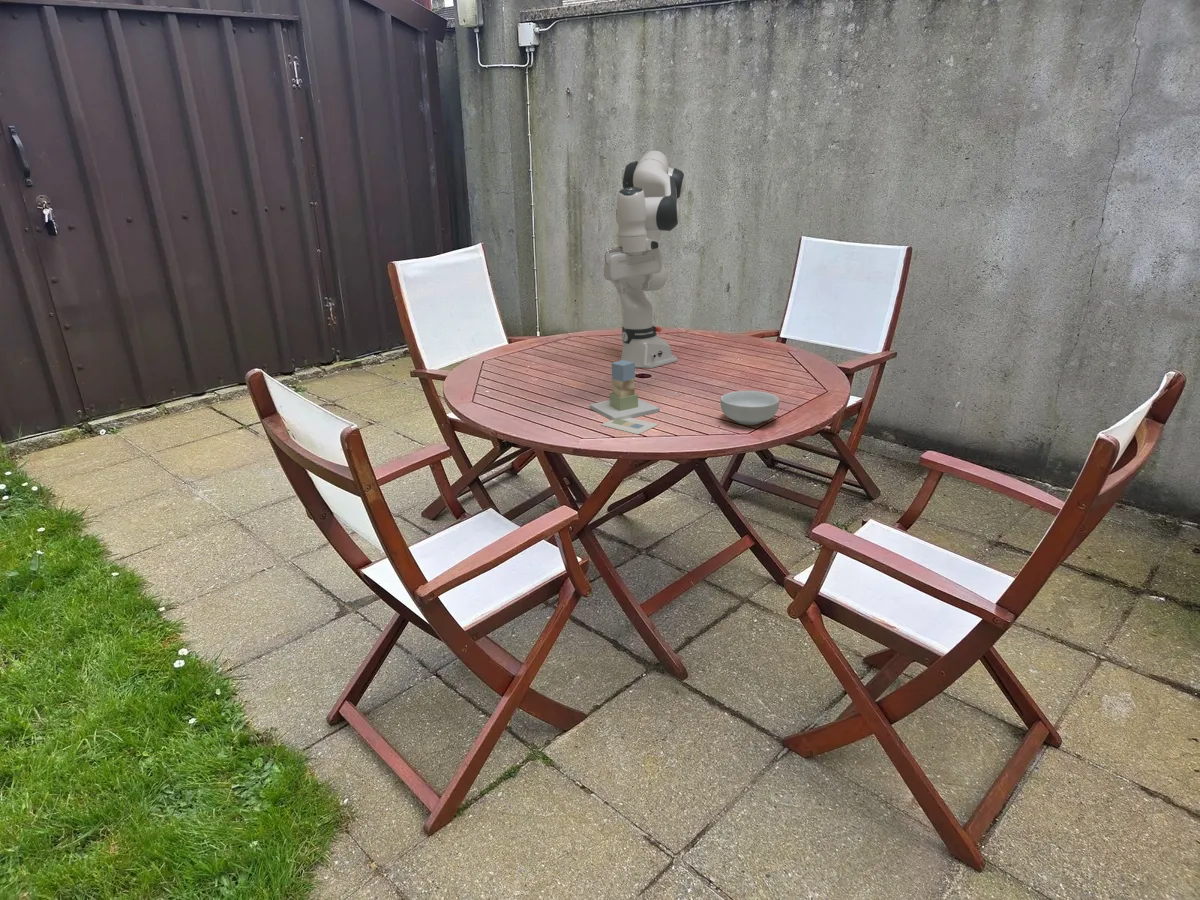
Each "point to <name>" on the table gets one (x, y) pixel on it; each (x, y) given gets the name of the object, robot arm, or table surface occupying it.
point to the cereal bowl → (749, 406)
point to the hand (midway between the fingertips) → (633, 291)
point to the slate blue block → (623, 370)
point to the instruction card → (630, 425)
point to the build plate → (625, 413)
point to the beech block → (623, 388)
